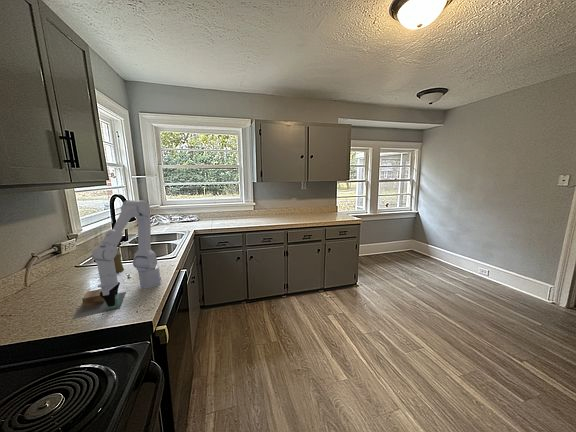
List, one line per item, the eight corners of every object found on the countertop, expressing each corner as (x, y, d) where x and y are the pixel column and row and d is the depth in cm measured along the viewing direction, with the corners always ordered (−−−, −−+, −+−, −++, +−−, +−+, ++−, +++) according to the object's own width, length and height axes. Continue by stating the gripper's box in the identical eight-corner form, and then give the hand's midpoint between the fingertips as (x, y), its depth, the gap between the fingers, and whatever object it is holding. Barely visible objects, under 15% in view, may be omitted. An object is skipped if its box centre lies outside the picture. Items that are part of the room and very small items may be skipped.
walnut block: (107, 295, 113) (105, 288, 112) (103, 303, 107) (102, 295, 106) (88, 299, 110) (87, 291, 109) (83, 307, 104) (82, 298, 103)
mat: (126, 292, 117) (126, 291, 117) (119, 309, 102) (119, 308, 102) (85, 300, 110) (85, 299, 110) (72, 320, 96) (71, 319, 96)
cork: (113, 269, 143) (110, 252, 141) (125, 268, 145) (122, 251, 143) (110, 274, 138) (107, 255, 135) (122, 272, 140) (119, 254, 137)
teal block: (120, 301, 108) (119, 293, 107) (118, 307, 104) (117, 298, 103) (108, 304, 106) (106, 296, 105) (105, 309, 102) (104, 301, 101)
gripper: (100, 269, 106) (105, 297, 109) (90, 283, 94) (96, 314, 96) (119, 266, 109) (124, 293, 112) (112, 279, 96) (117, 309, 99)
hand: (112, 302), depth 104 cm, fingers closed on teal block, 4 cm apart
